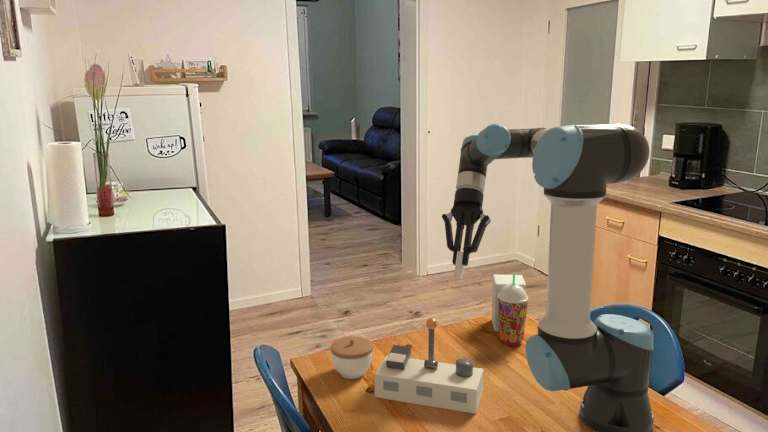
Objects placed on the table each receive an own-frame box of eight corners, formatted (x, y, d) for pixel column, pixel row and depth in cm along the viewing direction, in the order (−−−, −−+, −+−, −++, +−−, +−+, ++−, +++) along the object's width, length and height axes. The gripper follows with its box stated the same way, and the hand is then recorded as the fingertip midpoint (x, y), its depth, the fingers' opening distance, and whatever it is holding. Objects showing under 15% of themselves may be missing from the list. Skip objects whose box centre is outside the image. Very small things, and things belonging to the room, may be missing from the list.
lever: (438, 366, 142) (439, 317, 139) (435, 371, 139) (436, 321, 136) (426, 364, 142) (426, 315, 139) (423, 369, 140) (424, 319, 137)
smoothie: (489, 341, 168) (492, 274, 163) (507, 332, 173) (510, 268, 168) (514, 351, 162) (517, 282, 157) (531, 341, 167) (535, 275, 162)
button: (474, 370, 140) (474, 359, 139) (471, 378, 136) (471, 367, 135) (457, 367, 141) (457, 357, 140) (454, 376, 137) (454, 365, 136)
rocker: (411, 352, 145) (410, 346, 144) (404, 369, 140) (403, 362, 139) (394, 350, 147) (393, 343, 146) (386, 367, 141) (385, 360, 140)
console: (482, 391, 142) (483, 368, 140) (475, 414, 132) (476, 390, 131) (387, 376, 149) (387, 354, 148) (374, 397, 140) (374, 374, 138)
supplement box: (520, 320, 182) (523, 274, 178) (524, 332, 173) (527, 284, 170) (491, 319, 183) (492, 273, 179) (493, 331, 174) (495, 283, 170)
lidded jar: (352, 388, 144) (351, 353, 142) (322, 373, 151) (321, 340, 149) (382, 372, 151) (381, 338, 149) (352, 358, 158) (351, 326, 156)
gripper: (496, 197, 158) (486, 283, 150) (449, 196, 163) (437, 279, 156) (490, 186, 151) (480, 275, 144) (442, 186, 157) (429, 271, 149)
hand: (458, 277), depth 150 cm, fingers closed
